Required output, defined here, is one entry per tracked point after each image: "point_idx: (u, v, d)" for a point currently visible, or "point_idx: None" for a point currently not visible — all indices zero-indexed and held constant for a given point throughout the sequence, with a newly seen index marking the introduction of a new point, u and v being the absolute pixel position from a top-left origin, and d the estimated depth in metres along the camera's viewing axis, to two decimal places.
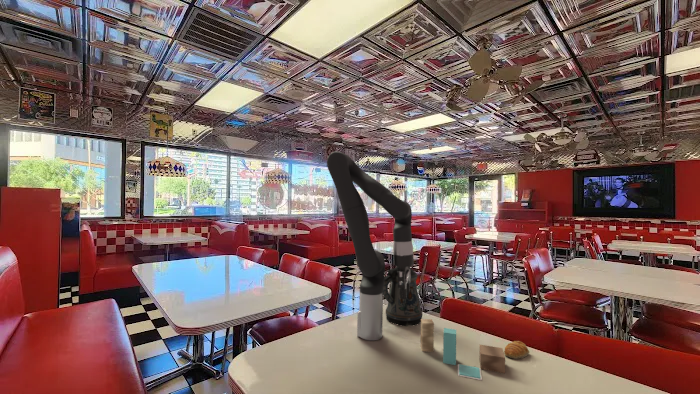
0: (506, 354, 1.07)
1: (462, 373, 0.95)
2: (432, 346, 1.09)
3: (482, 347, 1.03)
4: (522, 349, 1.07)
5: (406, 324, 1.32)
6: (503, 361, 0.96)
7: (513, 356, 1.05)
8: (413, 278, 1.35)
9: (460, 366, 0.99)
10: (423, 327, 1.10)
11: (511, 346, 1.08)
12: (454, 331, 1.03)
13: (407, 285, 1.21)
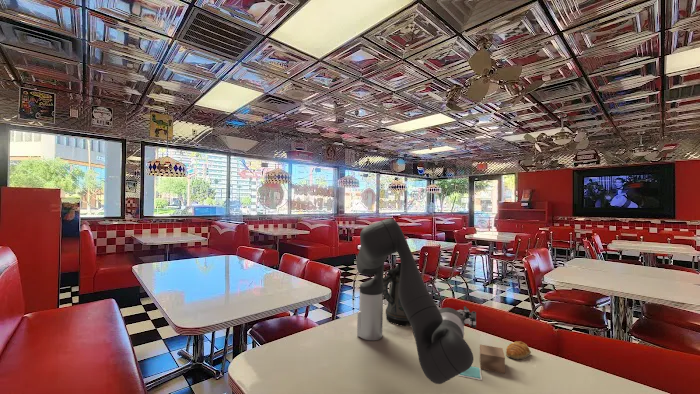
0: (508, 355, 1.06)
1: (462, 373, 0.95)
2: None
3: (482, 347, 1.03)
4: (524, 349, 1.07)
5: (406, 324, 1.32)
6: (503, 361, 0.96)
7: (515, 357, 1.05)
8: None
9: None
10: None
11: (513, 346, 1.08)
12: None
13: None
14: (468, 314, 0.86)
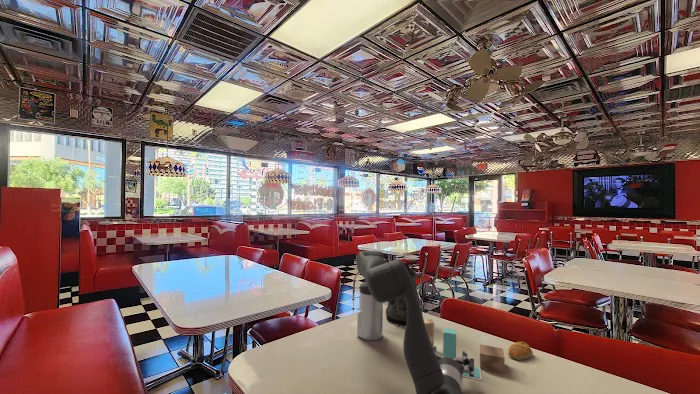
0: (511, 355, 1.06)
1: None
2: (432, 346, 1.09)
3: (482, 347, 1.03)
4: (526, 350, 1.06)
5: None
6: (502, 361, 0.96)
7: (518, 357, 1.04)
8: (413, 278, 1.35)
9: None
10: None
11: (515, 347, 1.08)
12: (454, 331, 1.03)
13: None
14: (466, 361, 0.91)
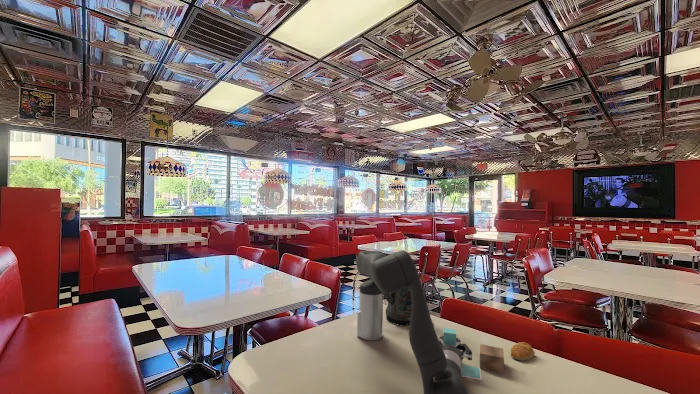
0: (513, 356, 1.05)
1: (462, 373, 0.95)
2: None
3: (482, 347, 1.03)
4: (528, 350, 1.06)
5: (406, 324, 1.32)
6: (502, 361, 0.96)
7: (520, 358, 1.04)
8: None
9: None
10: None
11: (517, 348, 1.07)
12: (454, 331, 1.03)
13: None
14: (459, 346, 1.00)
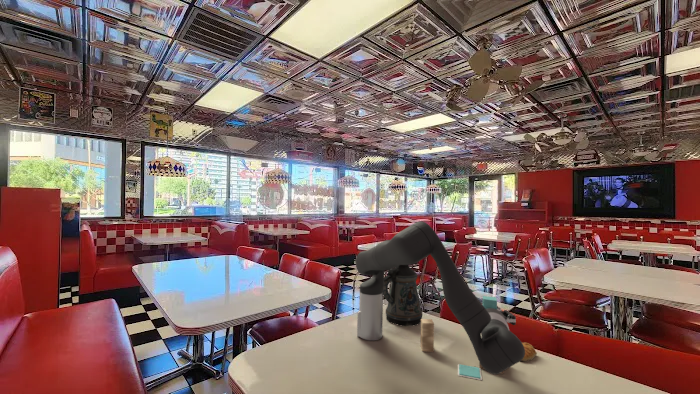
0: None
1: (462, 373, 0.95)
2: (432, 346, 1.09)
3: None
4: (531, 351, 1.06)
5: (406, 324, 1.32)
6: None
7: (523, 359, 1.03)
8: (413, 278, 1.35)
9: (460, 366, 0.99)
10: (423, 327, 1.10)
11: None
12: (494, 298, 1.00)
13: None
14: (500, 312, 0.97)
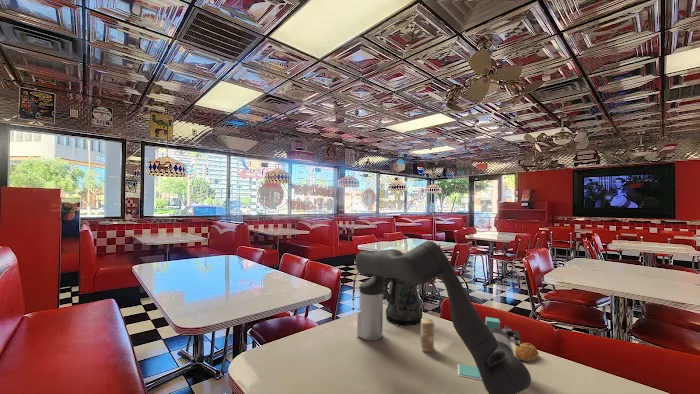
0: (518, 357, 1.04)
1: (462, 373, 0.95)
2: (432, 346, 1.09)
3: None
4: (533, 351, 1.05)
5: (406, 324, 1.32)
6: None
7: (526, 359, 1.03)
8: None
9: (460, 366, 0.99)
10: (423, 327, 1.10)
11: (522, 349, 1.07)
12: (497, 320, 1.01)
13: None
14: (511, 333, 0.96)
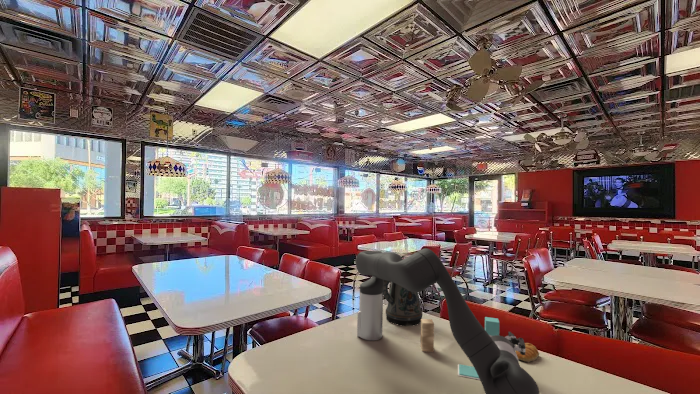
0: (519, 358, 1.04)
1: (462, 373, 0.95)
2: (432, 346, 1.09)
3: None
4: (534, 351, 1.05)
5: (406, 324, 1.32)
6: None
7: (526, 359, 1.03)
8: None
9: (460, 366, 0.99)
10: (423, 327, 1.10)
11: None
12: (496, 320, 1.01)
13: None
14: (515, 340, 0.90)
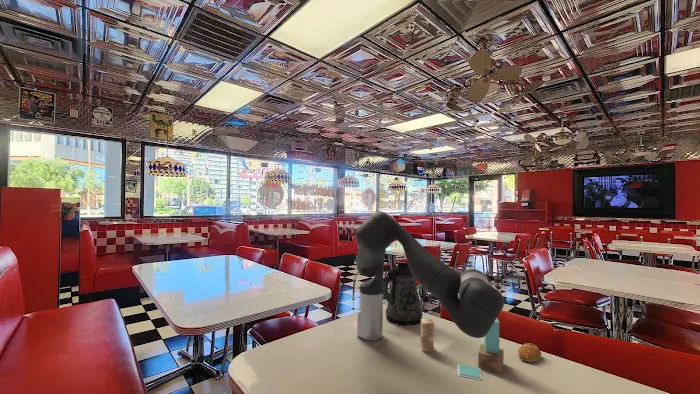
0: (522, 358, 1.04)
1: (462, 373, 0.95)
2: (432, 346, 1.09)
3: (482, 347, 1.03)
4: (536, 352, 1.05)
5: (406, 324, 1.32)
6: (501, 361, 0.96)
7: (530, 360, 1.03)
8: (413, 278, 1.35)
9: (460, 366, 0.99)
10: (423, 327, 1.10)
11: (525, 349, 1.06)
12: None
13: None
14: (492, 278, 0.85)
